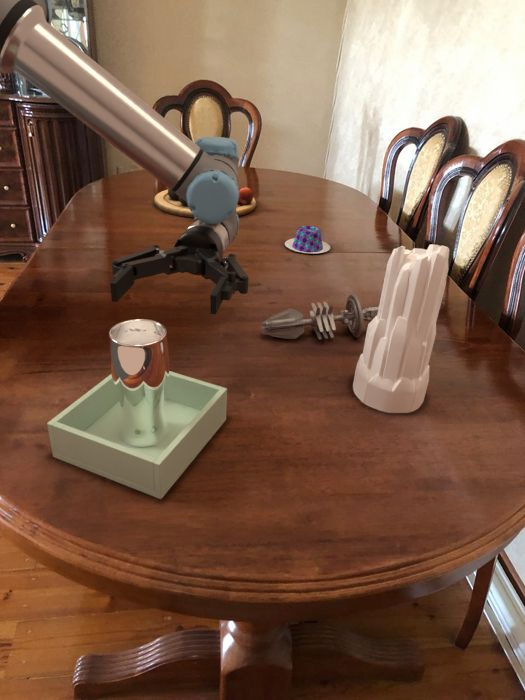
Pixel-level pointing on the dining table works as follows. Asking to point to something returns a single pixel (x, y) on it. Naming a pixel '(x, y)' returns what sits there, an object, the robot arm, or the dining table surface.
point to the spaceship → (320, 320)
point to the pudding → (308, 241)
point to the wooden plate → (179, 207)
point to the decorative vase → (403, 331)
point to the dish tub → (129, 461)
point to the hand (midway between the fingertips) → (162, 298)
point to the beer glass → (140, 379)
